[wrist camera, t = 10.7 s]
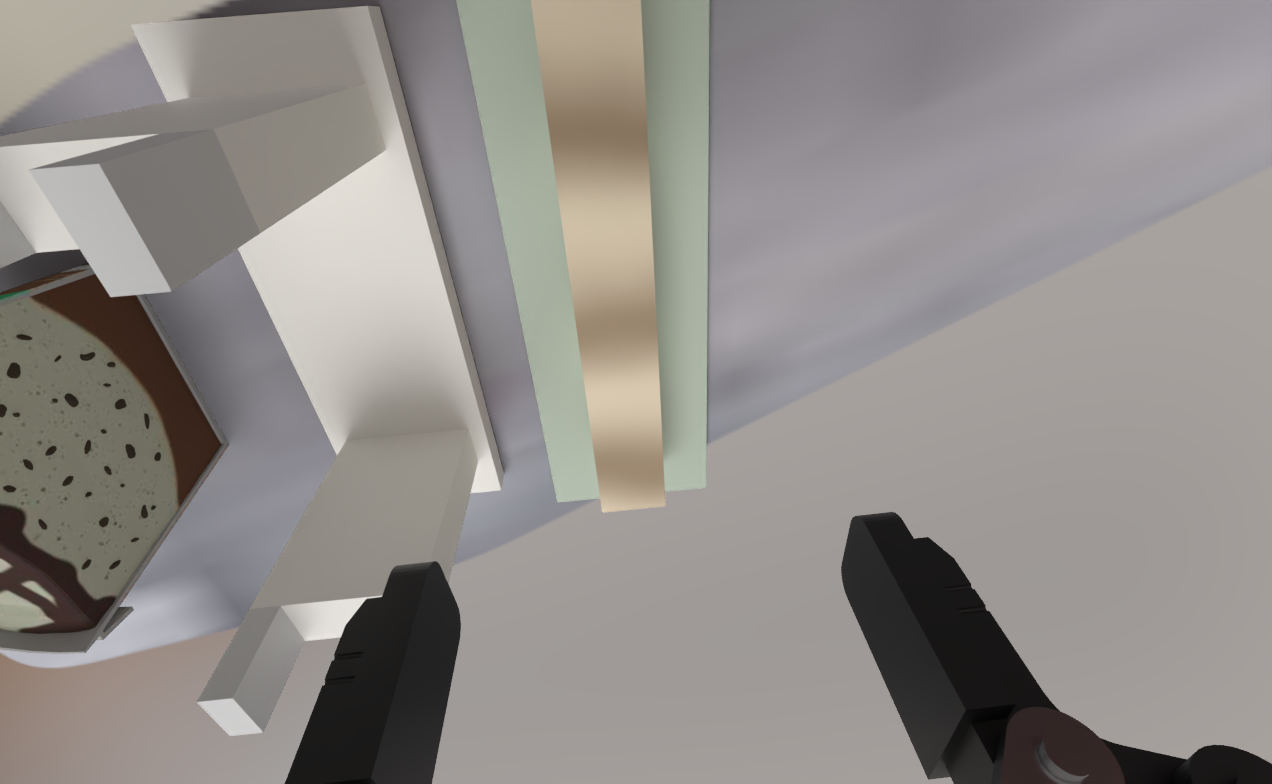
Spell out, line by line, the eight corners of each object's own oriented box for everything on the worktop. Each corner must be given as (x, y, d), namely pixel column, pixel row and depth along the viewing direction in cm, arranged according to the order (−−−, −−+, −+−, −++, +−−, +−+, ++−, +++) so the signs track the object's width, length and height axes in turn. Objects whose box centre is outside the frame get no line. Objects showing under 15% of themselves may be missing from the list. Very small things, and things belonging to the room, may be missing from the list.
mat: (441, -82, 17) (439, -84, 16) (707, -101, 17) (709, -104, 17) (557, 497, 30) (557, 502, 30) (704, 482, 30) (706, 487, 30)
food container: (-73, 226, 20) (-524, 369, 12) (101, 217, 21) (-222, 352, 12) (112, 476, 27) (-94, 677, 19) (242, 468, 28) (94, 662, 19)
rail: (537, -7, 18) (529, -11, 15) (632, -14, 18) (640, -20, 15) (600, 469, 29) (601, 512, 26) (658, 464, 29) (665, 506, 26)
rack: (155, 24, 18) (-526, 35, 7) (379, 6, 18) (58, -11, 7) (368, 487, 29) (237, 768, 18) (504, 474, 29) (454, 744, 18)
